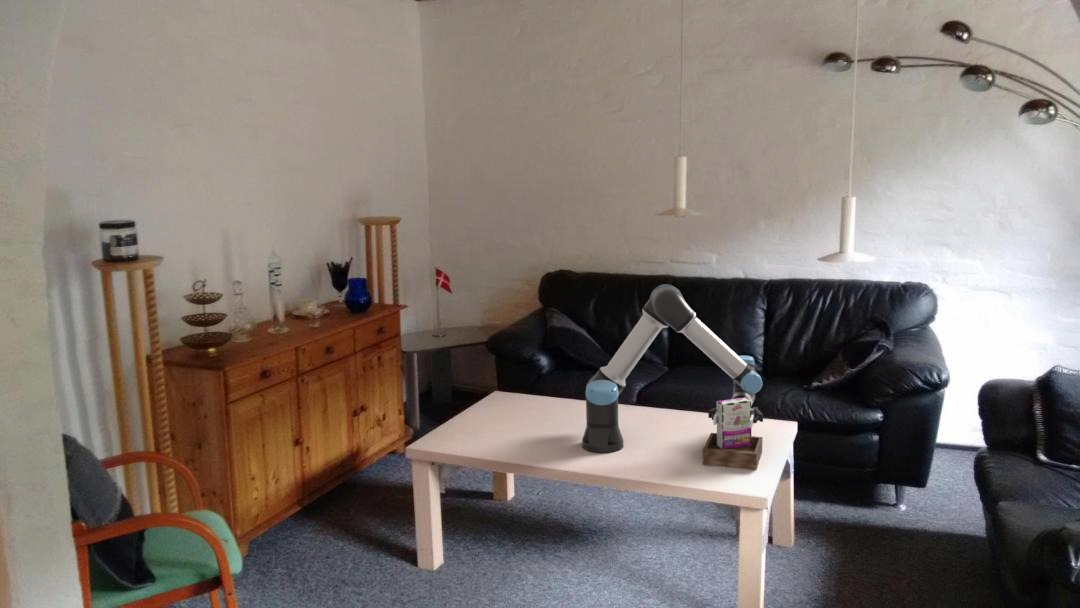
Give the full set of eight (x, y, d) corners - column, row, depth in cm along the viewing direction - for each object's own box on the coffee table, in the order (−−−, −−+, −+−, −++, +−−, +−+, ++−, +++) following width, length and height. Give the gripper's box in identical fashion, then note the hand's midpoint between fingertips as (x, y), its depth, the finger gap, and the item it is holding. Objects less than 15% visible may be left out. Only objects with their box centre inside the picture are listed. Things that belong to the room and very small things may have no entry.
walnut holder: (702, 464, 295) (702, 449, 294) (710, 447, 311) (711, 432, 310) (756, 469, 289) (756, 454, 288) (762, 452, 305) (762, 437, 304)
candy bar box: (744, 441, 303) (745, 396, 300) (751, 446, 298) (752, 400, 296) (715, 445, 300) (715, 400, 297) (722, 450, 296) (722, 404, 293)
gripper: (774, 417, 311) (768, 436, 291) (707, 412, 319) (697, 430, 299) (774, 396, 310) (768, 414, 289) (707, 392, 318) (697, 409, 298)
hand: (732, 422), depth 294 cm, fingers closed on candy bar box, 11 cm apart
